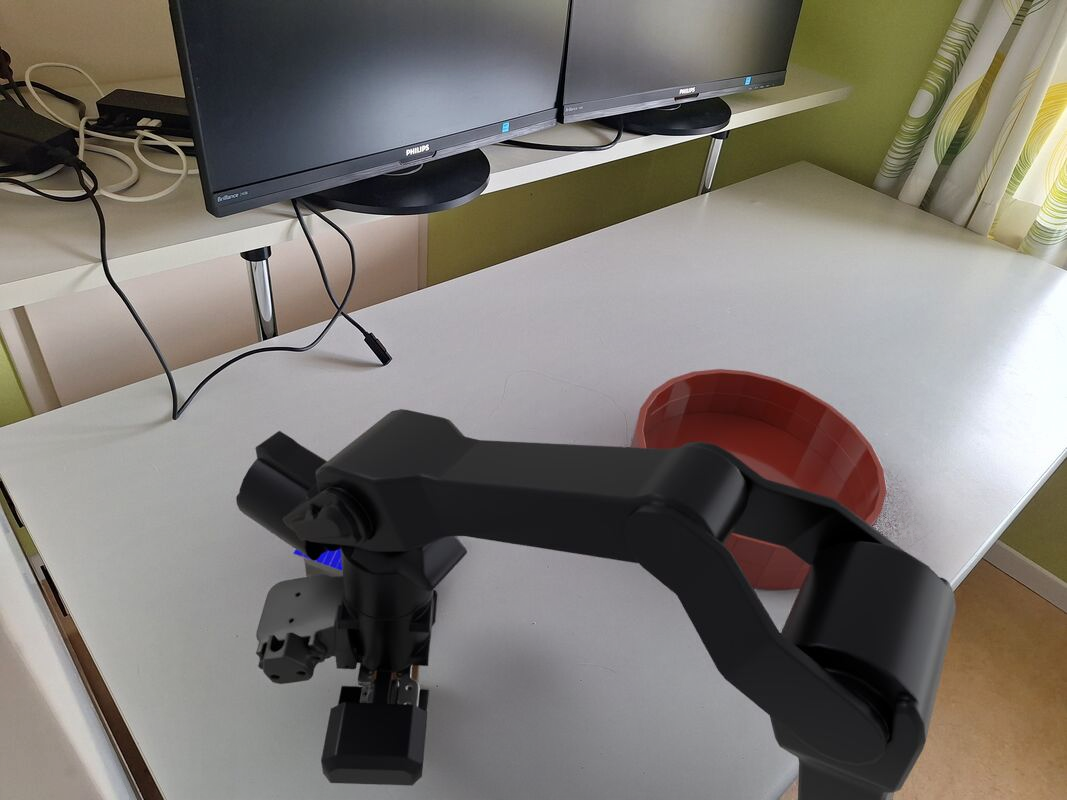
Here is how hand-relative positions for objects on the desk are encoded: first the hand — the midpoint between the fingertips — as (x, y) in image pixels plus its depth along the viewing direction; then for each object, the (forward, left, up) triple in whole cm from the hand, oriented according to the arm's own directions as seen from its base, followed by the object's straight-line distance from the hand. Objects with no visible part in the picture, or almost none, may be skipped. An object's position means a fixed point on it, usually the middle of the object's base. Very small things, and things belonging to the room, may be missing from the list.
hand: (391, 699), depth 59 cm
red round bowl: (+5, -42, -1) cm, 43 cm away
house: (+15, -3, -1) cm, 15 cm away
